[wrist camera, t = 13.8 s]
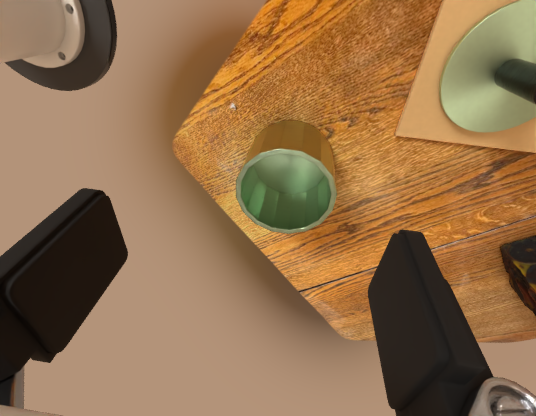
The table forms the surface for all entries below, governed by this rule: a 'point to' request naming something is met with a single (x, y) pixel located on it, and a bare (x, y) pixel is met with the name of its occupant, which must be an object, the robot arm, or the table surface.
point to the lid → (493, 71)
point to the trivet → (428, 79)
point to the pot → (288, 178)
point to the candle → (522, 269)
